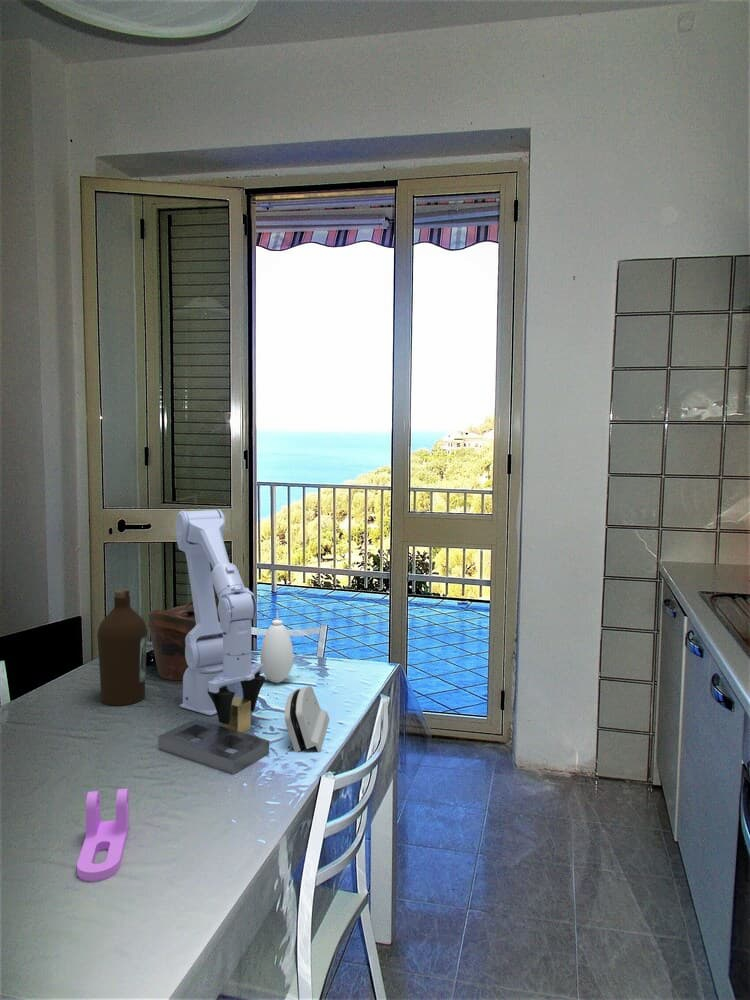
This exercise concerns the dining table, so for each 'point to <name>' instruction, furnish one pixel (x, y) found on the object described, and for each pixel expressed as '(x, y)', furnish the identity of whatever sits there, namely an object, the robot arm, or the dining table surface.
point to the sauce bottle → (277, 652)
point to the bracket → (103, 838)
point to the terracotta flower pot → (172, 639)
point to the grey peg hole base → (214, 745)
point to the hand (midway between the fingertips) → (237, 716)
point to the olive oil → (122, 653)
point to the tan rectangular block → (240, 715)
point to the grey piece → (305, 719)
